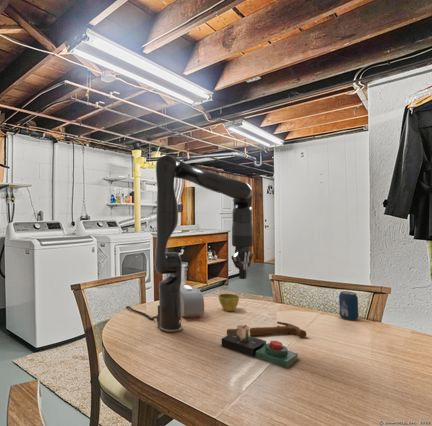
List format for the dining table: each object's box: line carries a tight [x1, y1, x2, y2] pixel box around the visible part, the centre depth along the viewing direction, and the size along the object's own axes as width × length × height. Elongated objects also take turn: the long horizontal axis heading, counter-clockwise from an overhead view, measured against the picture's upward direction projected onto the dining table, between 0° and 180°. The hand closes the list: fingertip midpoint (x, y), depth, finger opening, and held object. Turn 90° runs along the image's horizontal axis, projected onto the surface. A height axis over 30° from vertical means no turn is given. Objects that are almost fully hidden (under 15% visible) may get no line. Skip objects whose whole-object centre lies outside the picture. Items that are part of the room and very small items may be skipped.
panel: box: [221, 332, 267, 358], centre depth 112 cm, size 12×10×3 cm
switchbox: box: [255, 342, 299, 369], centre depth 103 cm, size 10×9×4 cm
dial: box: [236, 324, 251, 342], centre depth 112 cm, size 4×4×5 cm
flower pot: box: [217, 293, 240, 312], centre depth 157 cm, size 10×10×7 cm
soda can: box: [338, 290, 359, 322], centre depth 141 cm, size 7×7×12 cm
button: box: [269, 340, 283, 350], centre depth 103 cm, size 4×4×2 cm
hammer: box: [226, 321, 307, 339], centre depth 125 cm, size 12×3×30 cm
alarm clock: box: [180, 284, 205, 318], centre depth 153 cm, size 21×10×13 cm, turn 179°
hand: (242, 278), depth 117 cm, fingers closed
